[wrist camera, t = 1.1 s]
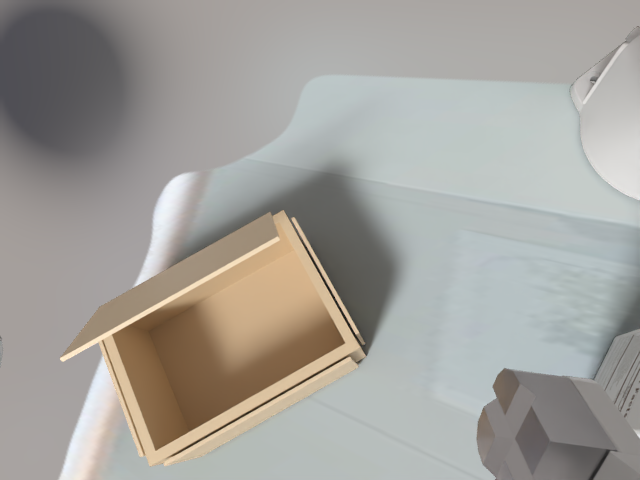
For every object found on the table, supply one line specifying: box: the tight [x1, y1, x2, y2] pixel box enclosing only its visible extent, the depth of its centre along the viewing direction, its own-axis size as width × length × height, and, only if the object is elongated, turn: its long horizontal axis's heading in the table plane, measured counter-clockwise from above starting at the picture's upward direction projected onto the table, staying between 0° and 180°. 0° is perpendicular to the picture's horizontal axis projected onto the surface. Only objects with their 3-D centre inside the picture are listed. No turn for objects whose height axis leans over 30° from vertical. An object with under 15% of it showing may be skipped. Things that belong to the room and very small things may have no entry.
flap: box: [60, 212, 280, 362], centre depth 37 cm, size 16×1×10 cm
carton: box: [98, 210, 366, 467], centre depth 44 cm, size 19×14×8 cm
